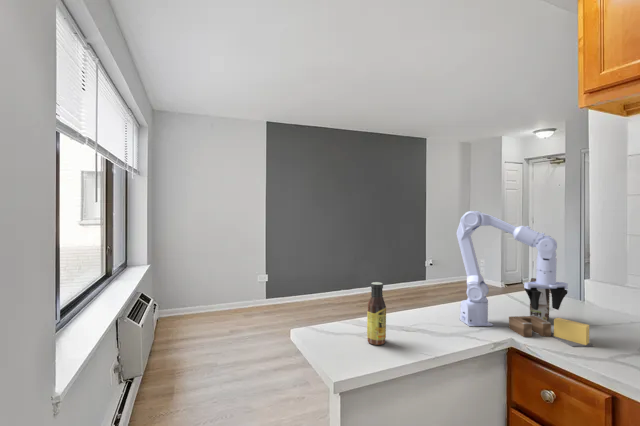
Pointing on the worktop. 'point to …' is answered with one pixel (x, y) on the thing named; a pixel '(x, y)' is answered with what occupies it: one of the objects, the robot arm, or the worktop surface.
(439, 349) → the worktop surface
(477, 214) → the robot arm
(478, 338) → the worktop surface
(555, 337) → the mat
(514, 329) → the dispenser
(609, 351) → the worktop surface
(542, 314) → the coffee box
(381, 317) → the sauce bottle
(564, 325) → the yellow bar
